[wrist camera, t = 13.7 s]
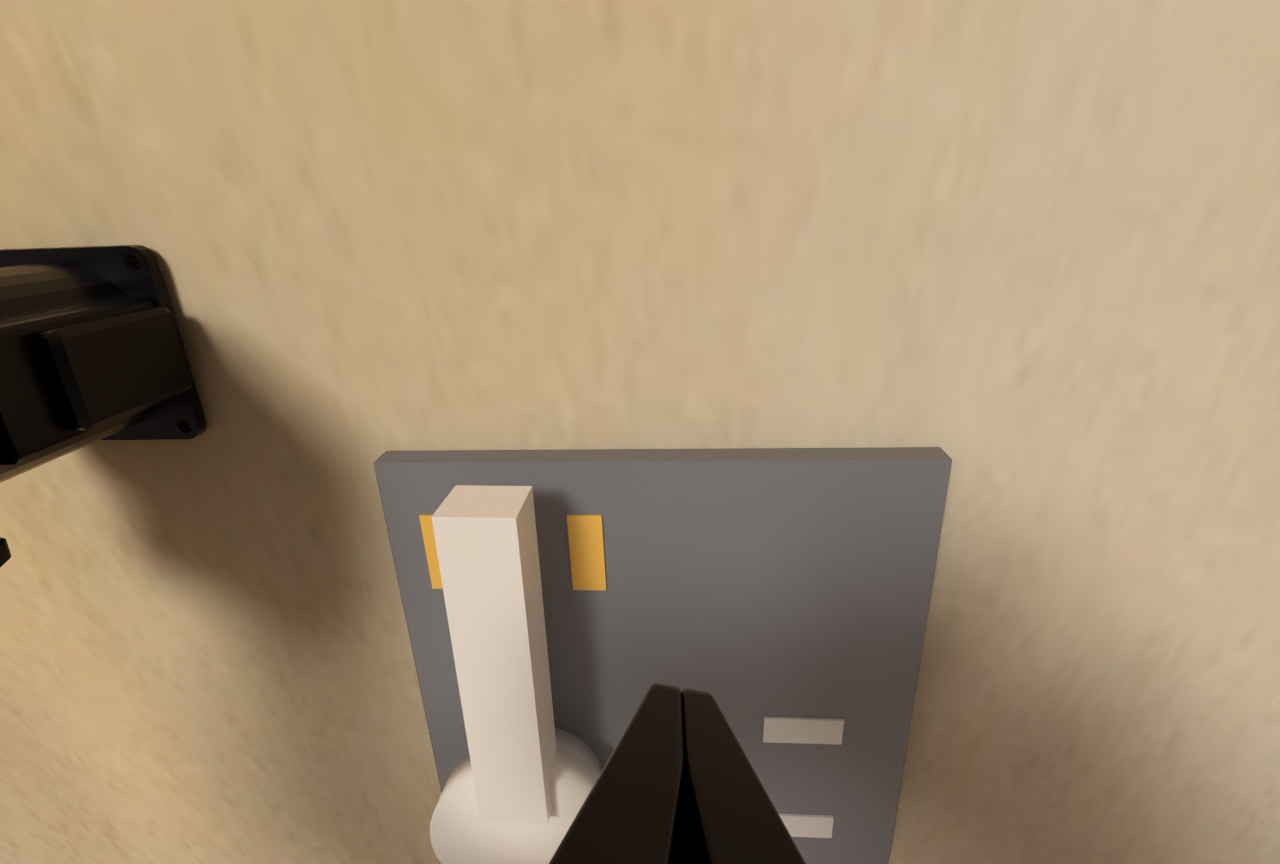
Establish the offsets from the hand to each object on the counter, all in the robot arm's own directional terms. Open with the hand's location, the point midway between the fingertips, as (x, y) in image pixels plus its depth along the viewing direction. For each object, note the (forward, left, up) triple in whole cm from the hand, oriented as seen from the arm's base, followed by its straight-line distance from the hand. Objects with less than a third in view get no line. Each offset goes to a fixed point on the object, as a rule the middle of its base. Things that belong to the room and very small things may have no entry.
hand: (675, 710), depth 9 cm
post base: (-1, -11, -13) cm, 17 cm away
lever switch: (-6, -10, -10) cm, 16 cm away
